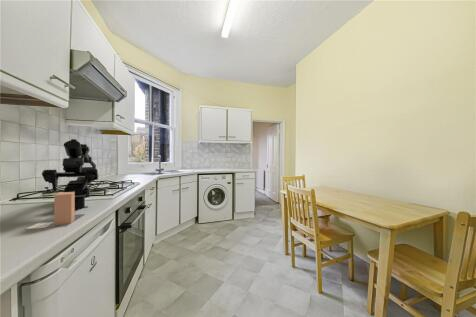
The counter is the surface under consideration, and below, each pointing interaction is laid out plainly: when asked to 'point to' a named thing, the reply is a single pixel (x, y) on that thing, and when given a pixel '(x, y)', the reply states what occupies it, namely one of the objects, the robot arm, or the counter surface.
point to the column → (64, 208)
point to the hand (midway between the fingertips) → (68, 190)
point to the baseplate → (51, 223)
